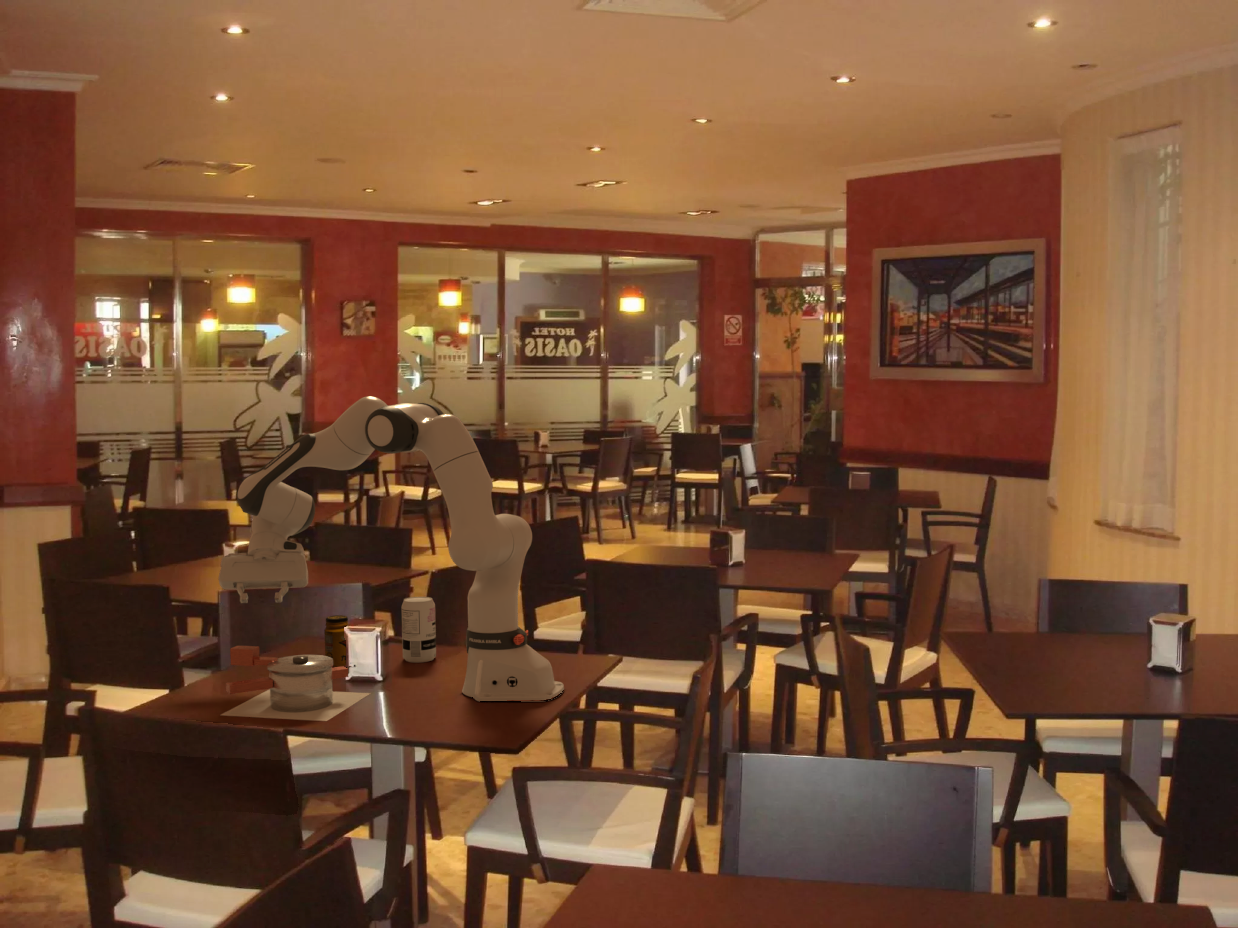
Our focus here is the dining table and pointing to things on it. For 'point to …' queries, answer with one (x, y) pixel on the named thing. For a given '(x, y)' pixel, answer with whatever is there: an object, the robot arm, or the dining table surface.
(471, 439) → the robot arm
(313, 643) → the dining table surface
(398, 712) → the dining table surface
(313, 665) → the lid
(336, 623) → the condiment
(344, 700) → the mat
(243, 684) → the cooker
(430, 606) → the supplement can
